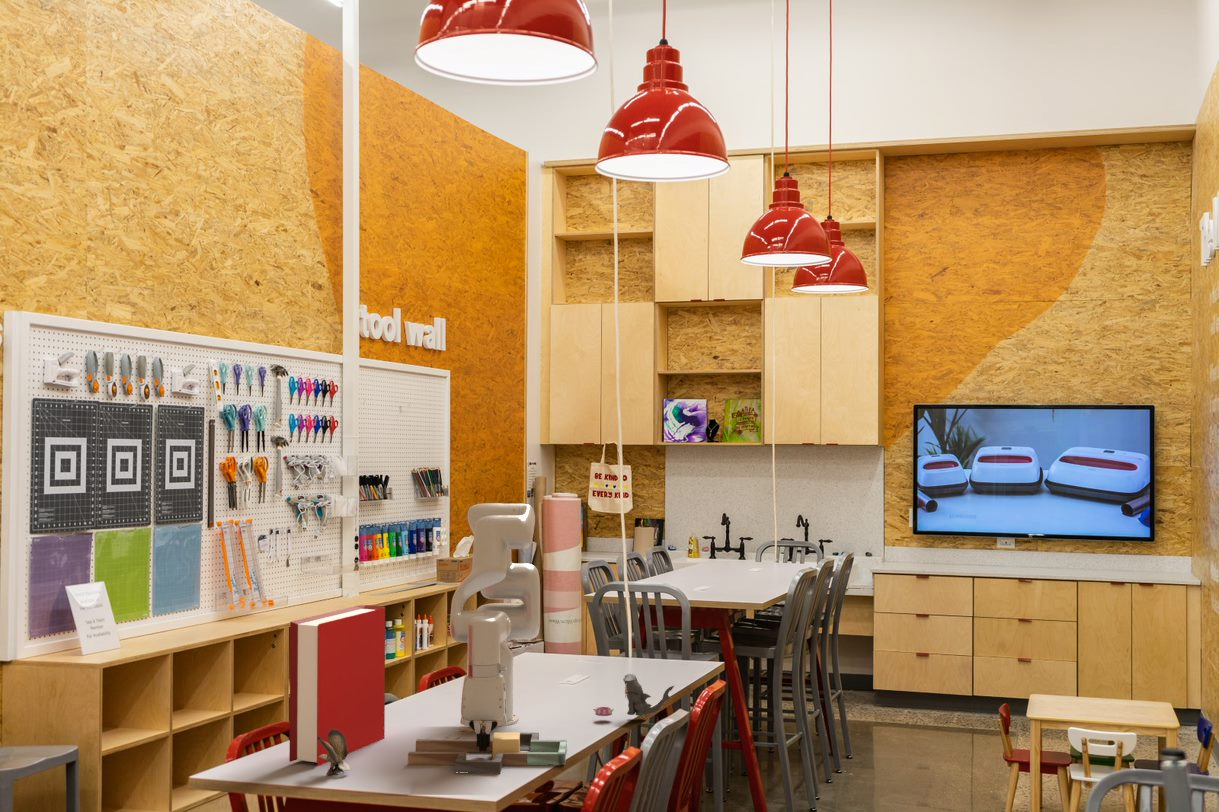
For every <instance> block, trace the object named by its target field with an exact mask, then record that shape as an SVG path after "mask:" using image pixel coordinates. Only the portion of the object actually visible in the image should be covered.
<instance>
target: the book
mask: <svg viewBox="0 0 1219 812" xmlns="http://www.w3.org/2000/svg"><path fill="white" fill-rule="evenodd" d="M289 627H290V628H289V629H290V630H289V640H290V641H289V754H288V755H289V757H288V758H289V760H288V761H289V762H290V763H291V762H295V761H302V762H303V761H305V762H311V763H316V764H317V766H318V767H319V766H322V765H324V764H327V763H330V762H329V761H327V760H326V759H323V758H319V756H321V755H323V754H325V755H329V754H328V751H327V750H326V748H325V747H324V745H323V744H322V743H321V742H320V741H319V740H318V736H319V737H320V738H321V739H322V740H323V741H325V742H327V743H328V744H330V742H329V739H328V733H330V731H331V729H333V730H335V729H336V730H339V731H341V733H342V734H343V735H344V736H345V738H346V740H347V742H346V743H347V750H348V754H350V753H353V752H355V751H358V750H360V749H362V748H365V747H367V746H370V745H373V744H374V743H377V742H379V741H382V740H385V733H386V732H385V727H386V726H385V722H386V719H385V717H386V716H385V715H386V714H385V713H386V711H385V709H386V707H385V703H386V702H385V701H386V699H385V697H386V692H385V688H386V679H385V678H386V606H384V605H383V606H379V605H371V604H369V605H368V604H364V605H361V604H360V605H356V606H355V605H354V606H350V607H347V608H346V607H345V608H342V609H338V610H333V611H331V612H330V611H329V612H325V613H321V614H317V615H312V616H308V617H303V618H300V619H295V620H291V621H289Z"/></svg>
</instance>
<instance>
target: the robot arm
mask: <svg viewBox="0 0 1219 812" xmlns="http://www.w3.org/2000/svg"><path fill="white" fill-rule="evenodd" d="M467 521H468V526H469V527H470V530H471V532H472V534H473V545H472V546H473V547H472V563H471V572H470V573H469V574H468V575H467V576H466V577H464V579H463V580H462V581H461V582H460V583H459V585H458V586H457V588H456V589H455V592H454V594H453V596H452V598H451V599H452V600H451V605H450V606H451V608H450V619H449V620H450V621H449V632H450V636H451V638H452V639H453V641H455V642H457V643H463V644H465V643H466V644H467V672H466V673H467V674H465V675H464V679H463V682H462V683H463V684H462V690H461V691H462V693H461V705H460V706H461V707H460V716H461V718H460V721H459V724H460V725H464V726H466V727H470V728H472V729H473V731H474V733H475V734H476V740H477V747H479V751H487V748H488V747H490V740H491V733H492V731H494V730H495V729H496V727H497V728H498V727H506V726H507V725H508V726H512V724H513V725H515V723H516V724H518V723H519V722H518V721H520V717H519V716H518V715H516V714H514V655H513V652H512V651H511V649H510V648H509V646H508V644H506V643H505V641H511V640H515V641H516V640H517V641H519V640H521V641H522V640H524V641H525V640H526V641H527V640H533V639H535V638H537V637H538V635H539V633H540V629H541V584H540V582H541V581H540V580H541V579H540V575H539V574H540V573H539V570H538V568H537V567H536V566H535V565H533V564H531V563H528V562H527V563H522V562H521V563H519V562H518V563H517V562H516V563H515V562H513V561H512V550H525V549H529V547H530V546H531V545H532V543H533V538H534V531H535V526H536V525H535V524H536V514H535V510H534V508H533V507H532V505H530V504H527V503H502V502H501V503H497V502H496V503H493V502H490V503H488V502H486V503H477V504H474V505H471V506H470V507H469V509H468V511H467ZM478 592H480V594H481V595H482V596H483V597H484V598H485V599H489V600H520V601H522V603H509V602H508V603H507V602H504V603H503V602H502V603H501V602H500V603H499V602H497V603H493V602H492V603H486V604H482V605H480V606H479V607H477V609H476V610H464V605H465V603H466V601H467V600H468V599H469V598H470V597H471V596H473V595H474V594H476V593H478ZM481 721H485V722H484V723H483V724H482V725H481ZM517 722H518V723H517ZM482 726H483V727H484V726H485V728H484V729H482ZM483 730H485V731H483Z"/></svg>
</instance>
